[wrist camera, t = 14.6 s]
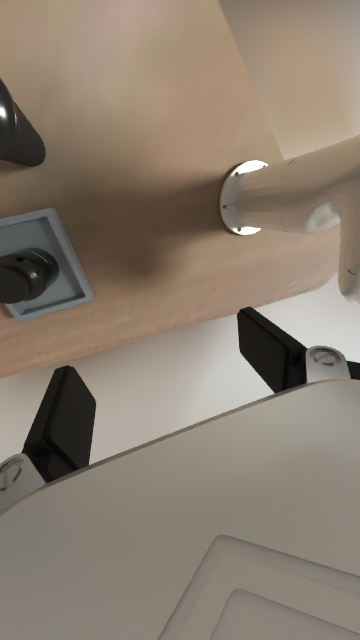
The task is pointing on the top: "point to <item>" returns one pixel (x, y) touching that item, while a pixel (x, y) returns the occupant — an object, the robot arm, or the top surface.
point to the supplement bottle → (26, 274)
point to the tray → (52, 237)
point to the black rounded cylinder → (17, 134)
